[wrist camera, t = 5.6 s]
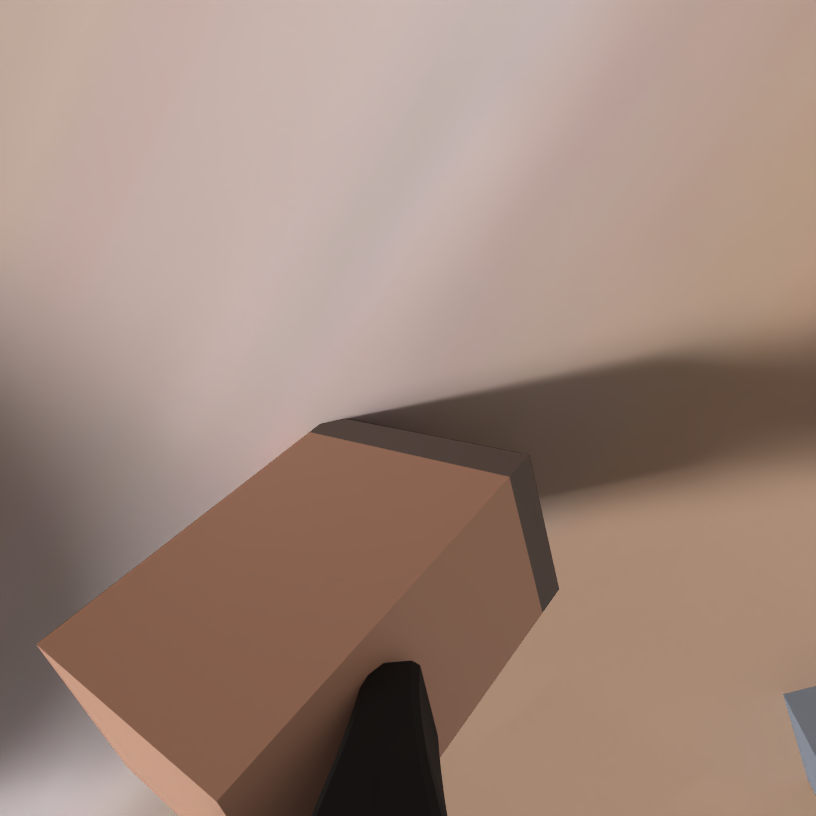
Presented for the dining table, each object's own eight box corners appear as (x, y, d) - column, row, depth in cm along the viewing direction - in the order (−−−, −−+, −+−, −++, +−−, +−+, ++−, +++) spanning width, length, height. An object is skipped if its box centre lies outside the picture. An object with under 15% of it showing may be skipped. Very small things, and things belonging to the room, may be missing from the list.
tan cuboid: (559, 588, 14) (310, 940, 10) (372, 526, 18) (126, 765, 13) (529, 454, 13) (216, 802, 8) (330, 415, 16) (36, 643, 12)
